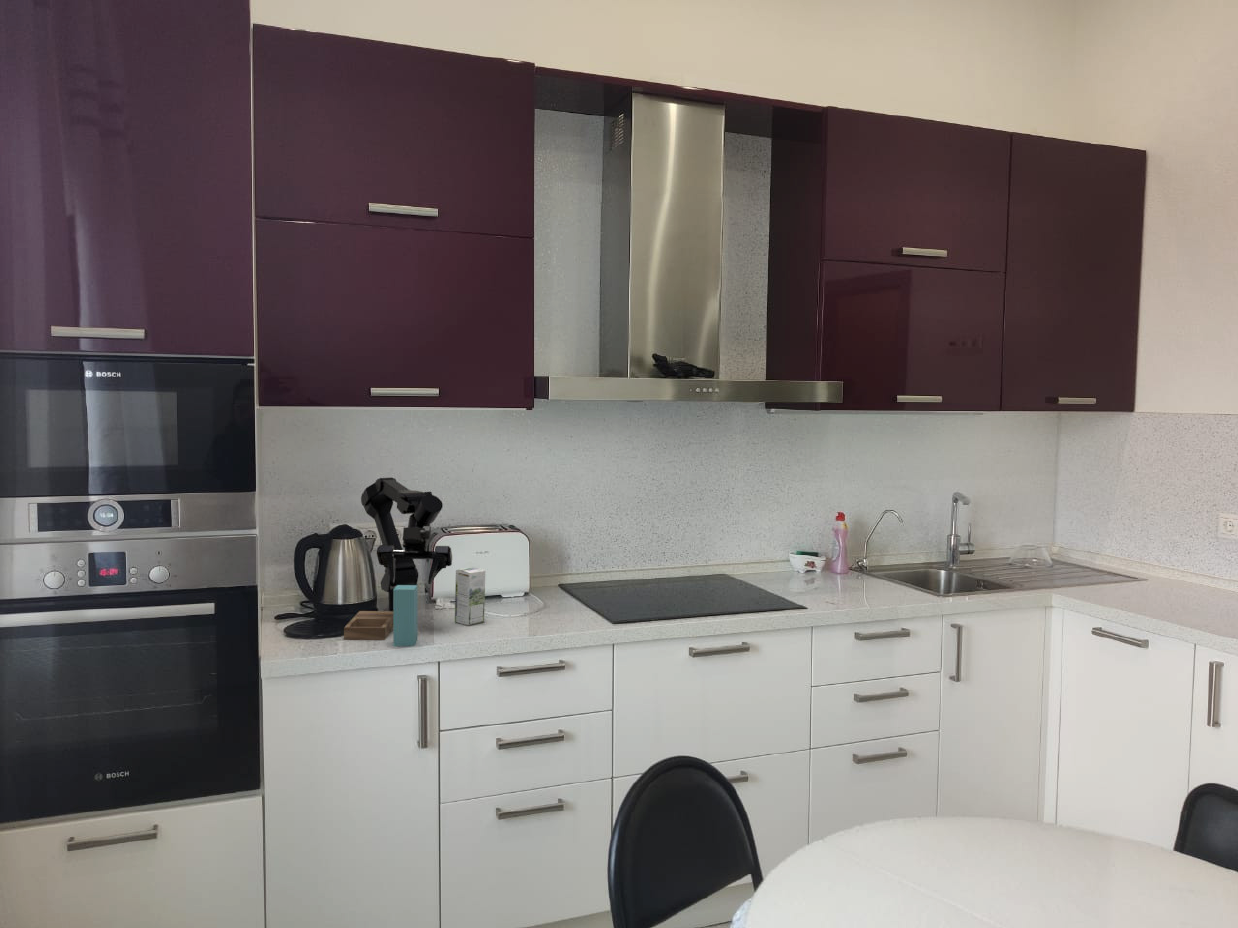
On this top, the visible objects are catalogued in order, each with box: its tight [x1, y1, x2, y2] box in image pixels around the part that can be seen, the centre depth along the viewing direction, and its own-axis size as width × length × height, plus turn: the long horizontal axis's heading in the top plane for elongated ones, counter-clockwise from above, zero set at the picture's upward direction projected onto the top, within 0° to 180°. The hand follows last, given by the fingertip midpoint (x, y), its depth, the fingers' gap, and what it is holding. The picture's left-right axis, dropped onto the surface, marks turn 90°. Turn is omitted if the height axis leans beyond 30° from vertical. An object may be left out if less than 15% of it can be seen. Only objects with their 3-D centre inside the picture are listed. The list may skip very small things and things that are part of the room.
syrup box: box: [454, 566, 486, 626], centre depth 249 cm, size 6×6×14 cm
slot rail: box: [343, 610, 393, 641], centre depth 239 cm, size 17×10×3 cm, turn 3°
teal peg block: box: [392, 584, 419, 647], centre depth 228 cm, size 5×5×14 cm
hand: (410, 582), depth 235 cm, fingers open, 9 cm apart
